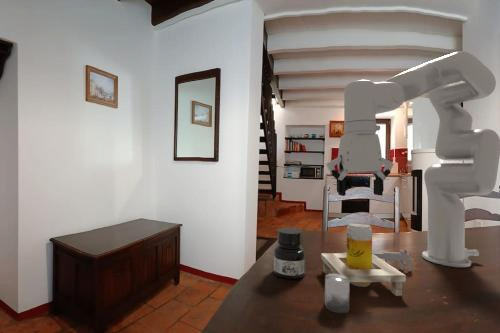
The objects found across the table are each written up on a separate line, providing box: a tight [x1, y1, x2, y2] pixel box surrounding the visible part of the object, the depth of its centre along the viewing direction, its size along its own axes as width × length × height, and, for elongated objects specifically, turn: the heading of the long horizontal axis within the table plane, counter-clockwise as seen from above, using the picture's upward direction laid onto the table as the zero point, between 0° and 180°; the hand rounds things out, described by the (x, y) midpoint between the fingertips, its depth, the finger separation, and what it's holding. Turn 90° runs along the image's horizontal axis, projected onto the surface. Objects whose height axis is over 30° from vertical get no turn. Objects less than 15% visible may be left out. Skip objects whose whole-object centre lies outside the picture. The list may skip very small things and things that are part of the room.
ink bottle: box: [273, 227, 306, 280], centre depth 70 cm, size 10×9×12 cm
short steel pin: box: [324, 273, 350, 314], centre depth 54 cm, size 5×5×6 cm
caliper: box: [343, 249, 412, 272], centre depth 80 cm, size 20×1×6 cm, turn 43°
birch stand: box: [320, 252, 407, 297], centre depth 65 cm, size 15×15×5 cm
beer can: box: [346, 222, 373, 288], centre depth 65 cm, size 6×6×15 cm
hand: (359, 195), depth 65 cm, fingers open, 9 cm apart
